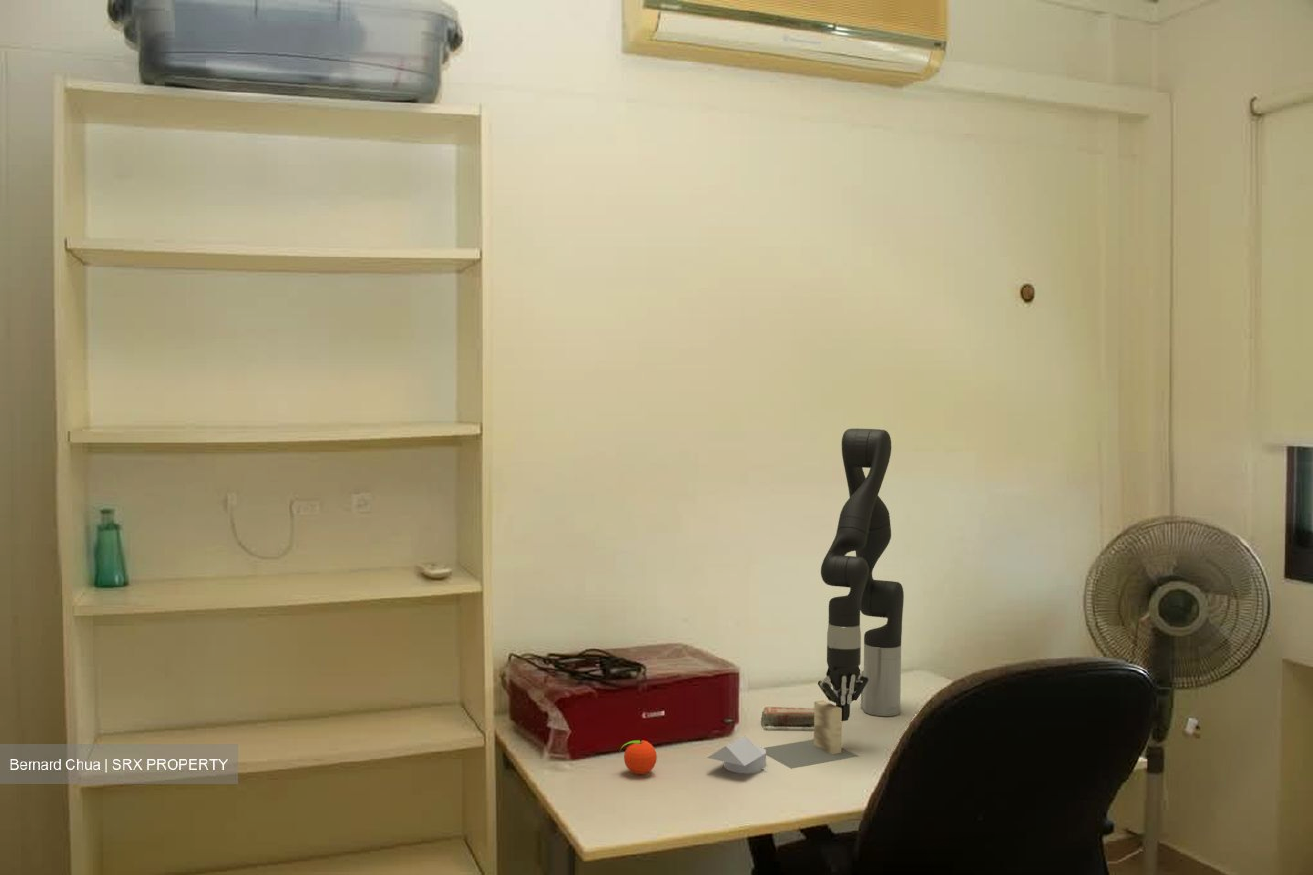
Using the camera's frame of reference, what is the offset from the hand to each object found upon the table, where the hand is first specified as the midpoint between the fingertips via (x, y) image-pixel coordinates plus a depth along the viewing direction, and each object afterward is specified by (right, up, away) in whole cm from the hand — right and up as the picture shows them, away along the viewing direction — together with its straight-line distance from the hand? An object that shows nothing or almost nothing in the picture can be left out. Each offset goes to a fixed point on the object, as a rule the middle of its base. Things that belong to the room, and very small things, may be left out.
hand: (842, 719), depth 248 cm
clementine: (-46, -7, -16) cm, 49 cm away
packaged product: (-8, -7, +17) cm, 19 cm away
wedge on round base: (-24, -7, -13) cm, 28 cm away
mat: (-9, -7, -4) cm, 12 cm away
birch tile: (-4, -6, -1) cm, 7 cm away
